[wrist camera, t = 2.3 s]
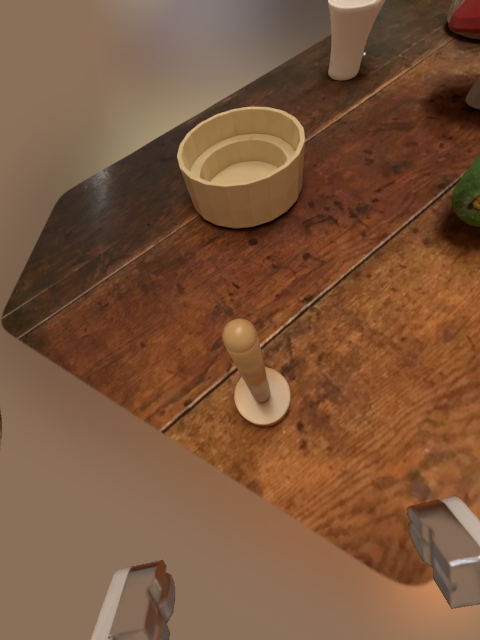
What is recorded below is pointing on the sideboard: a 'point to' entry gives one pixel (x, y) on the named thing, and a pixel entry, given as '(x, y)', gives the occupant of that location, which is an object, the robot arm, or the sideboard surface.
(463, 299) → the sideboard surface
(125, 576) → the robot arm
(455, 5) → the planter
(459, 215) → the fruit
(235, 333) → the wooden dowel stand
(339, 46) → the cup
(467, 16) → the decorative mushroom
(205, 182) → the mixing bowl
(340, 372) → the sideboard surface
